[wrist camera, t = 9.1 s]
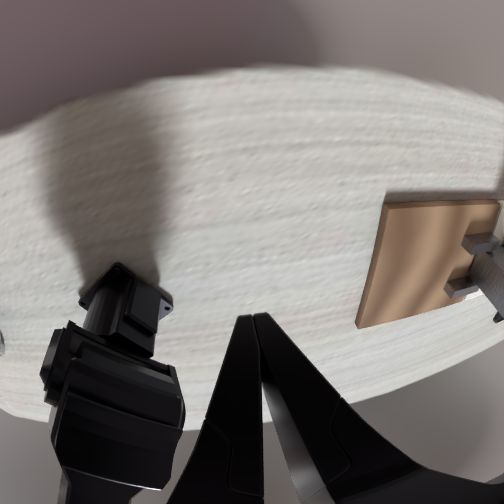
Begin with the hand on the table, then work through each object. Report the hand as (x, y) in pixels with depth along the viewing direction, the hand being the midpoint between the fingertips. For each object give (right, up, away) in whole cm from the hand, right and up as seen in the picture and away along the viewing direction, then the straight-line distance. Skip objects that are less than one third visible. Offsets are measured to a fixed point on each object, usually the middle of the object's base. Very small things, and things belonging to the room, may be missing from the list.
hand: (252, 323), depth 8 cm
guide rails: (+24, +2, +19) cm, 30 cm away
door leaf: (+19, +1, +18) cm, 26 cm away
